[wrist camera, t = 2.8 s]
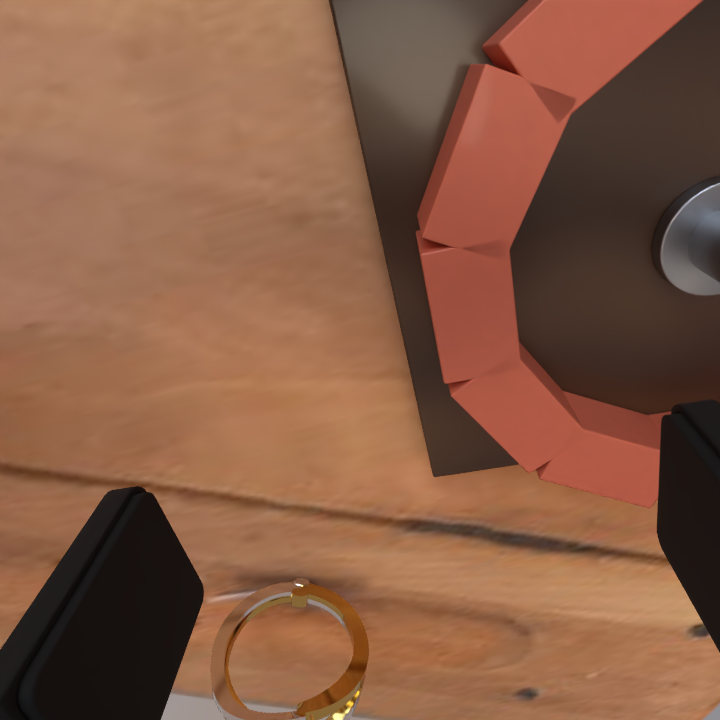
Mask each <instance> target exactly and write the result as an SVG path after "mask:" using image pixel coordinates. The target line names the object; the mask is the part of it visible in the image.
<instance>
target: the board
mask: <svg viewBox="0 0 720 720" xmlns="http://www.w3.org/2000/svg"><path fill="white" fill-rule="evenodd" d="M527 1H528V0H329V3H330V7H331V12H332V16H333V21H334V26H335V30H336V35H337V39H338V44H339V48H340V53H341V58H342V62H343V67H344V71H345V76H346V80H347V85H348V90H349V94H350V99H351V103H352V108H353V112H354V117H355V122H356V126H357V131H358V135H359V140H360V144H361V149H362V154H363V158H364V163H365V167H366V172H367V176H368V181H369V186H370V190H371V195H372V199H373V204H374V208H375V213H376V217H377V222H378V227H379V231H380V236H381V240H382V245H383V249H384V254H385V259H386V263H387V268H388V272H389V277H390V281H391V286H392V291H393V295H394V300H395V304H396V309H397V313H398V318H399V323H400V327H401V332H402V336H403V341H404V345H405V350H406V355H407V359H408V364H409V368H410V373H411V377H412V382H413V387H414V391H415V396H416V400H417V405H418V409H419V414H420V419H421V423H422V428H423V432H424V437H425V441H426V446H427V451H428V455H429V460H430V464H431V469H432V473H433V476H434V477H439V476H445V475H452V474H459V473H465V472H472V471H478V470H485V469H492V468H498V467H505V466H511V465H518V464H519V463H518V462H517V461H516V460H515V459H514V458H513V457H512V456H511V455H510V454H509V453H508V452H507V451H506V450H505V449H504V448H503V447H502V446H501V445H500V444H499V443H498V442H497V441H496V440H495V439H494V438H493V437H492V436H491V435H490V434H489V433H488V432H487V431H486V430H485V429H484V428H483V427H482V426H481V425H480V424H479V423H478V422H477V421H476V420H475V419H474V418H473V417H472V416H471V415H470V414H469V413H468V412H467V411H466V410H465V409H463V408H462V407H461V406H460V405H459V404H458V403H457V402H456V401H455V400H454V399H453V398H452V397H451V394H450V390H449V385H448V384H445V383H444V382H443V376H442V371H441V366H440V361H439V356H438V350H437V345H436V340H435V334H434V329H433V324H432V318H431V313H430V307H429V302H428V297H427V291H426V286H425V281H424V275H423V270H422V264H421V259H420V254H419V248H418V243H417V238H416V231H418V230H420V227H419V222H418V218H417V213H418V211H419V208H420V205H421V202H422V199H423V196H424V194H425V191H426V188H427V185H428V182H429V179H430V177H431V174H432V171H433V168H434V165H435V162H436V160H437V157H438V154H439V151H440V148H441V145H442V143H443V140H444V137H445V134H446V131H447V128H448V126H449V123H450V120H451V117H452V114H453V111H454V109H455V106H456V103H457V100H458V97H459V95H460V92H461V89H462V86H463V83H464V80H465V78H466V75H467V72H468V69H469V66H470V65H471V64H488V65H491V66H494V67H495V65H494V64H493V63H492V61H491V60H490V58H489V57H488V56H487V54H486V53H485V52H484V50H483V49H482V46H483V44H484V43H485V42H486V41H487V40H488V39H489V38H490V37H491V36H493V35H494V34H495V33H496V32H497V31H498V30H499V29H500V28H501V27H502V26H503V25H504V24H505V23H506V22H507V21H508V20H509V19H510V18H511V17H512V16H513V15H514V14H515V13H516V12H517V11H518V10H519V9H520V8H521V7H522V6H523V5H524V4H525V3H526V2H527ZM719 176H720V0H703V1H702V2H701V3H700V4H699V5H698V6H696V7H695V8H694V9H693V10H692V11H691V12H689V13H688V14H687V15H686V16H685V17H684V18H682V19H681V20H680V21H679V22H678V23H677V24H676V25H674V26H673V27H672V28H671V29H670V30H669V31H667V32H666V33H665V34H664V35H663V36H662V37H660V38H659V39H658V40H657V41H656V42H655V43H653V44H652V45H651V46H650V47H649V48H648V49H647V50H645V51H644V52H643V53H642V54H641V55H640V56H638V57H637V58H636V59H635V60H634V61H633V62H631V63H630V64H629V65H628V66H627V67H626V68H625V69H623V70H622V71H621V72H620V73H619V74H618V75H616V76H615V77H614V78H613V79H612V80H611V81H609V82H608V83H607V84H606V85H605V86H604V87H602V88H601V89H600V90H599V91H598V92H597V93H596V94H594V95H593V96H592V97H591V98H590V99H589V100H587V101H586V102H585V103H584V104H583V105H582V106H580V107H579V108H578V109H577V110H576V111H575V112H573V113H572V114H571V116H570V118H569V120H568V122H567V125H566V127H565V129H564V131H563V133H562V136H561V138H560V140H559V142H558V144H557V147H556V149H555V151H554V153H553V155H552V158H551V160H550V162H549V164H548V166H547V169H546V171H545V173H544V175H543V177H542V180H541V182H540V184H539V186H538V188H537V191H536V193H535V195H534V197H533V199H532V202H531V204H530V206H529V208H528V210H527V213H526V215H525V217H524V219H523V221H522V224H521V226H520V228H519V230H518V232H517V235H516V237H515V239H514V241H513V243H512V246H511V248H510V258H511V268H512V278H513V288H514V298H515V308H516V317H517V327H518V337H519V342H520V343H521V344H522V345H523V347H524V348H525V349H526V350H527V351H528V352H529V353H530V355H531V356H532V357H533V358H534V359H535V360H536V361H537V362H538V364H539V365H540V366H541V367H542V368H543V369H544V370H545V371H546V373H547V374H548V375H549V376H550V377H551V378H552V379H553V380H554V382H555V383H556V384H557V385H558V386H559V387H560V388H561V390H562V391H565V392H569V393H572V394H576V395H579V396H583V397H586V398H590V399H593V400H597V401H600V402H604V403H607V404H610V405H614V406H617V407H621V408H624V409H628V410H631V411H635V412H638V413H642V414H645V415H651V414H658V413H664V412H670V411H672V408H673V406H674V405H676V404H682V403H689V402H695V401H702V400H709V399H713V400H716V401H717V402H718V403H720V295H714V296H695V295H691V294H687V293H684V292H682V291H680V290H678V289H676V288H675V287H674V286H672V285H671V284H670V283H669V282H667V281H666V280H665V279H664V278H663V277H662V276H661V275H660V274H659V272H658V270H657V269H656V266H655V264H654V260H653V253H652V245H653V238H654V234H655V231H656V228H657V226H658V224H659V222H660V220H661V218H662V216H663V215H664V213H665V212H666V211H667V209H668V208H669V207H670V205H671V204H672V203H673V202H674V201H675V200H676V199H677V198H678V197H680V196H681V195H682V194H683V193H684V192H686V191H687V190H689V189H690V188H692V187H694V186H695V185H697V184H699V183H701V182H704V181H706V180H708V179H711V178H715V177H719Z"/></svg>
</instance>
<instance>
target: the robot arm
mask: <svg viewBox="0 0 720 720" xmlns="http://www.w3.org/2000/svg"><path fill="white" fill-rule="evenodd" d="M657 534H658V539H659V542H660V545H661V548H662V550H663V552H664V554H665V555H666V557H667V559H668V561H669V563H670V564H671V566H672V568H673V570H674V572H675V573H676V575H677V577H678V579H679V580H680V582H681V584H682V586H683V588H684V589H685V591H686V593H687V595H688V596H689V598H690V600H691V602H692V604H693V605H694V607H695V609H696V611H697V613H698V614H699V616H700V618H701V620H702V621H703V623H704V625H705V627H706V629H707V630H708V632H709V634H710V636H711V638H712V639H713V641H714V643H715V645H716V646H717V648H718V650H719V652H720V403H718V402H717V401H716V400H713V399H709V400H702V401H695V402H689V403H682V404H676V405H674V406H673V408H672V411H671V414H668V415H664V416H663V417H662V420H661V438H660V462H659V487H658V512H657ZM203 596H204V589H203V584H202V582H201V580H200V578H199V576H198V575H197V573H196V571H195V569H194V567H193V565H192V564H191V562H190V560H189V558H188V556H187V554H186V553H185V551H184V549H183V547H182V545H181V544H180V542H179V540H178V538H177V536H176V534H175V533H174V531H173V529H172V527H171V525H170V523H169V522H168V520H167V518H166V516H165V514H164V513H163V511H162V509H161V507H160V505H159V503H158V502H157V500H156V498H155V496H154V495H153V494H152V493H150V492H146V490H145V489H144V488H142V487H139V486H136V487H129V488H123V489H116V490H111V491H109V492H108V493H107V494H106V495H105V496H104V497H103V499H102V500H101V502H100V503H99V505H98V506H97V508H96V509H95V511H94V512H93V513H92V515H91V516H90V518H89V519H88V521H87V522H86V524H85V525H84V527H83V528H82V530H81V531H80V533H79V534H78V536H77V537H76V539H75V540H74V542H73V543H72V545H71V546H70V548H69V549H68V550H67V552H66V553H65V555H64V556H63V558H62V559H61V561H60V562H59V564H58V565H57V567H56V568H55V570H54V571H53V573H52V574H51V576H50V577H49V579H48V580H47V582H46V583H45V585H44V586H43V588H42V589H41V590H40V592H39V593H38V595H37V596H36V598H35V599H34V601H33V602H32V604H31V605H30V607H29V608H28V610H27V611H26V613H25V614H24V616H23V617H22V619H21V620H20V622H19V623H18V625H17V626H16V628H15V629H14V630H13V632H12V633H11V635H10V636H9V638H8V639H7V641H6V642H5V644H4V645H3V647H2V648H1V650H0V720H161V717H162V715H163V712H164V709H165V706H166V703H167V701H168V698H169V695H170V692H171V689H172V687H173V684H174V681H175V678H176V675H177V672H178V670H179V667H180V664H181V661H182V658H183V656H184V653H185V650H186V647H187V644H188V642H189V639H190V636H191V633H192V630H193V628H194V625H195V622H196V619H197V616H198V614H199V611H200V608H201V605H202V602H203Z"/></svg>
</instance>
